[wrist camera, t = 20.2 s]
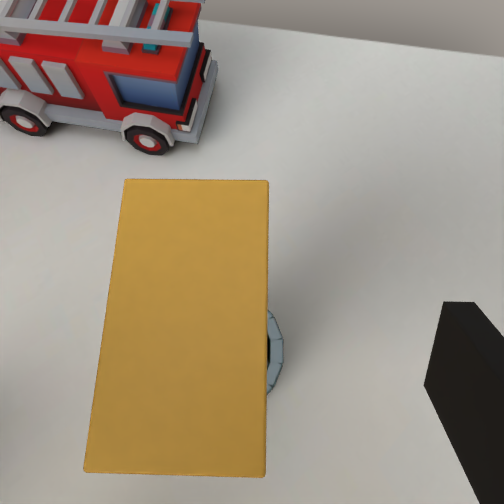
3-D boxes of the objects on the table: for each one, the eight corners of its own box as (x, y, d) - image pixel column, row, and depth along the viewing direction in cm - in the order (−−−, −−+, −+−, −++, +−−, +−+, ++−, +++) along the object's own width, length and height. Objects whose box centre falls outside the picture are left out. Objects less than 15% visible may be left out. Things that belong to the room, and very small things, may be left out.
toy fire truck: (203, 164, 33) (180, 71, 24) (-12, 129, 35) (-113, 30, 26) (227, 76, 36) (214, -37, 27) (27, 48, 38) (-51, -68, 28)
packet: (265, 274, 22) (268, 178, 12) (263, 439, 19) (266, 478, 10) (183, 272, 22) (124, 177, 13) (169, 437, 19) (81, 472, 10)
